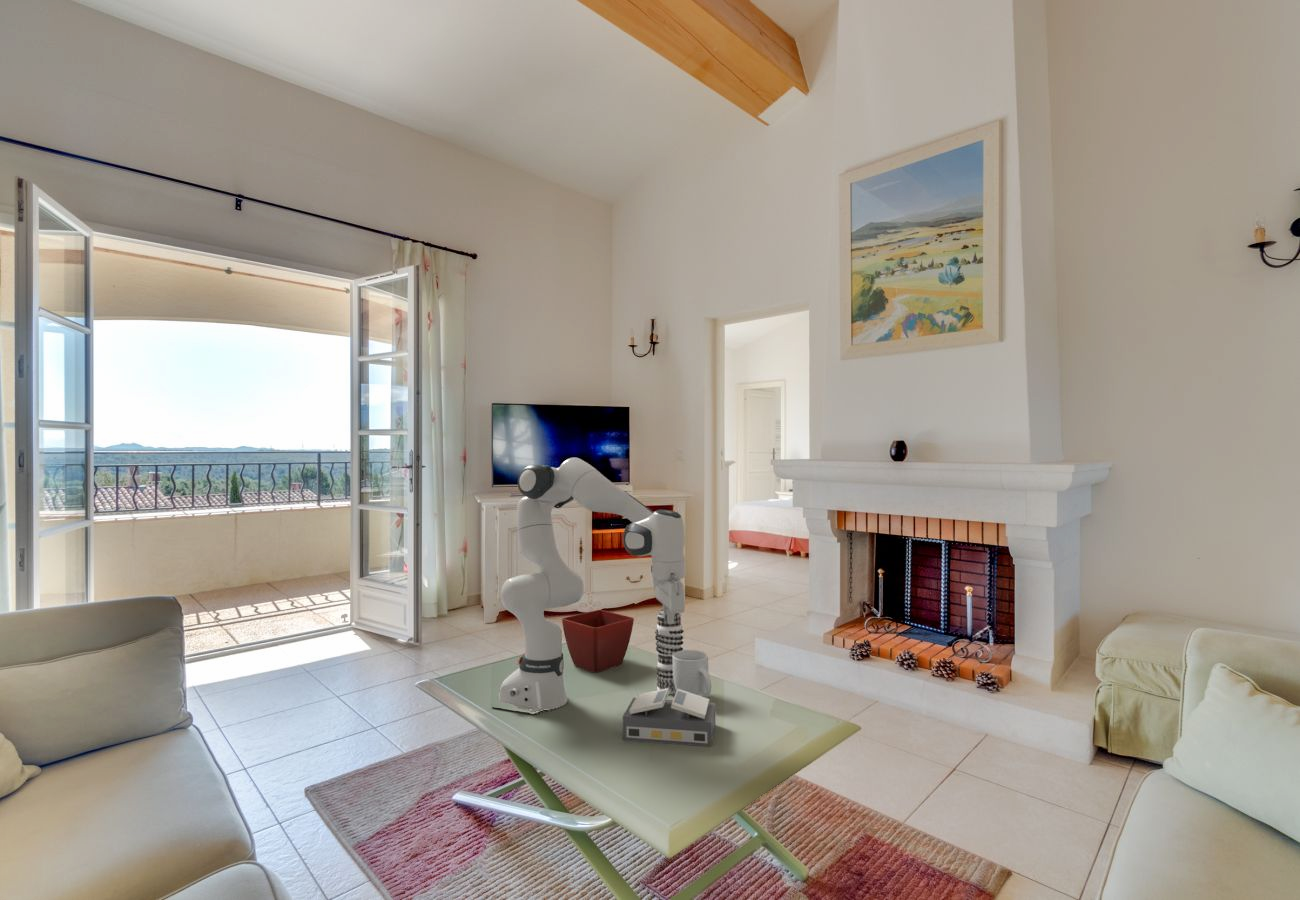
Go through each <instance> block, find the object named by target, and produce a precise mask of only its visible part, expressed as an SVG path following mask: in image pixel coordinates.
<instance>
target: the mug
mask: <svg viewBox="0 0 1300 900" xmlns="http://www.w3.org/2000/svg"><path fill="white" fill-rule="evenodd" d="M672 659H673V662H672V665H673V667H672V668H673V680H674V685H675V689H676V692H677V689H681V690H684V691H687V692H690V693H693V694H696V695H699V696H702V697H705V698H707V697H708V696H709V695H710V694H711V691H712V679H711V676H710V674H709V655H708V654H707V653H706V652H704V651H700V650H695V649H683V650H682V651H678V652H675V653H674V654H673V656H672Z"/></svg>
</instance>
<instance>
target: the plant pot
mask: <svg viewBox="0 0 1300 900" xmlns="http://www.w3.org/2000/svg"><path fill="white" fill-rule="evenodd" d="M634 620H635V618H634V617H631V616H629V615H624V614H620V613H616V612H611V611H608V610H603V609H597V610H593V611H588V612H584V613H579V614H576V615H575V614H574V615H571V616H567V617H566V616H565V617H562V618H561V623H562V624H561V625H562V629H563V635H564V638H565V642H566V646H567V649H568V652H569V655H570V658H571V660H572V663H573V665H574V666H576V667H578V668H582V669H583V670H587V671H590V672H593V673H600V672H604V671H606V670H609V669H612V668H615V667H618V666H621V665H622V664H623V661H624V659H625V657H626V653H627V650H628V647H629V644H630V640H631V635H632V631H633V629H634V628H633V626H634V622H635V621H634Z"/></svg>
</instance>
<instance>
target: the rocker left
mask: <svg viewBox="0 0 1300 900" xmlns="http://www.w3.org/2000/svg"><path fill="white" fill-rule="evenodd" d="M669 695H670V694H669V688H666V689H662V690H657V689H656V690H653V691H648V692H643V693H639V694H637V696H636V697H635V698H636V699H635V701H634V703H633V704H632V706H631V708H630V710H629V711H630V714H633V713H638V712H643V711H647V710H652V709H657V708H662V707H663V706H664V703H665V701H666V700H668V699H667V698H668V696H669Z"/></svg>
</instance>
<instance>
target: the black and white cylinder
mask: <svg viewBox="0 0 1300 900" xmlns="http://www.w3.org/2000/svg"><path fill="white" fill-rule="evenodd" d="M681 616H682V613H675V616H674V624H668V623H667V622H666V621H665V620H664V611H663V608H662V609H661V610H659V612H658V613H657V614H656V617H657V624H656V629H655V632H654V634H655V636H654V637H655V640H656V641H655V645H656V647H655V651H656V653H657V666H656V671H657V672H656V676H657V677H656V686H657V688H656V691H657V690H662V689H666V688H669V694H668V695H675V694H676V689H675V685H674V680H673V668H672V667H673V665H672V662H673V659H672V656H673V654H674V653H675V652H678V651H682V650H684V648H683V647H682V645H683V644H684V641H683V639H684V636H683V635H682V634H684V632H685V630H683V626H682V621H681V618H682V617H681Z"/></svg>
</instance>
